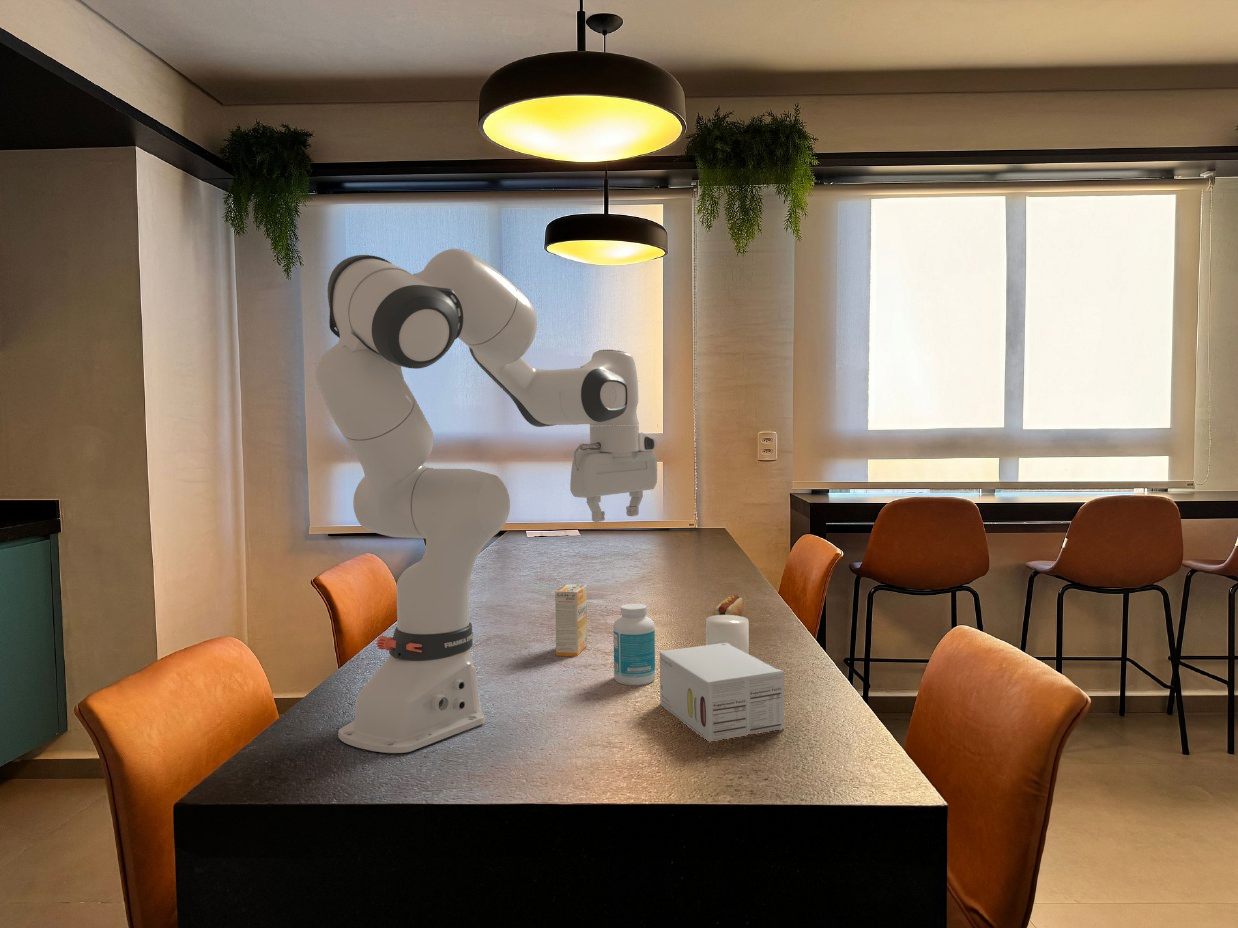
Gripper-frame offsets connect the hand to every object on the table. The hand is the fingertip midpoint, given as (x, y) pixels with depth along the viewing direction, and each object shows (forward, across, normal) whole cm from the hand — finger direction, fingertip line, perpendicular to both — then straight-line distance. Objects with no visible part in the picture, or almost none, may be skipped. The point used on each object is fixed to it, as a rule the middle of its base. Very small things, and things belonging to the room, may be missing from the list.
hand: (615, 518), depth 142 cm
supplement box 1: (+29, +7, +18) cm, 35 cm away
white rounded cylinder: (+29, +17, -12) cm, 36 cm away
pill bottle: (+29, 0, -4) cm, 30 cm away
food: (+30, +50, +8) cm, 59 cm away
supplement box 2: (+29, -5, -25) cm, 39 cm away
